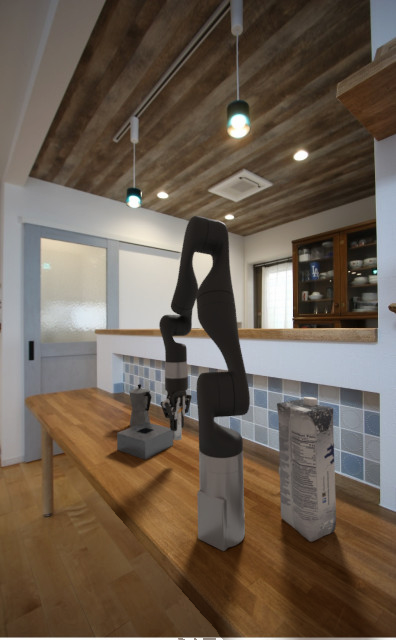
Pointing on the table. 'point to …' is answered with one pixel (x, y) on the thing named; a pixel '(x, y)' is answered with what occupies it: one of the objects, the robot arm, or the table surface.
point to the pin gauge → (178, 426)
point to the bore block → (144, 440)
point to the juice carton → (307, 467)
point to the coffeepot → (139, 406)
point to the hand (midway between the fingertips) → (177, 428)
